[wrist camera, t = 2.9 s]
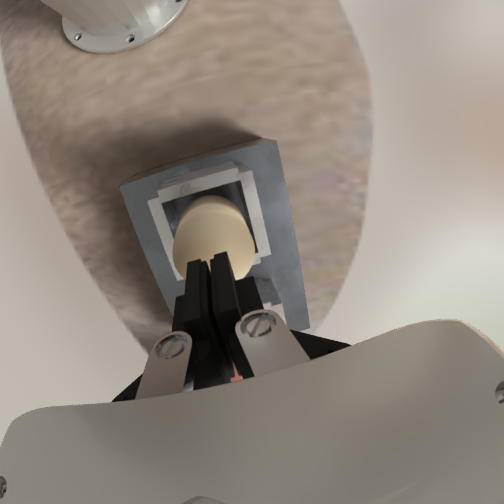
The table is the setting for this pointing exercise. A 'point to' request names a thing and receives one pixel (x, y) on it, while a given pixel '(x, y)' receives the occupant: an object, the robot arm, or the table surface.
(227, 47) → the table surface
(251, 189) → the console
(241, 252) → the beige ball
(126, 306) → the table surface
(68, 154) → the table surface
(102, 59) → the table surface
